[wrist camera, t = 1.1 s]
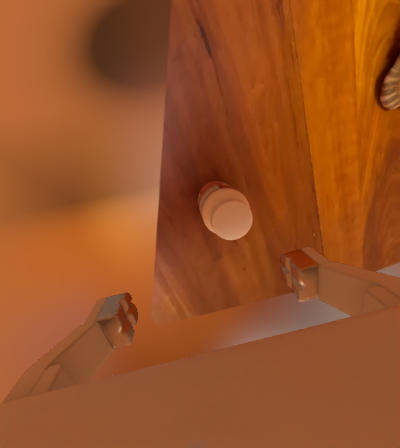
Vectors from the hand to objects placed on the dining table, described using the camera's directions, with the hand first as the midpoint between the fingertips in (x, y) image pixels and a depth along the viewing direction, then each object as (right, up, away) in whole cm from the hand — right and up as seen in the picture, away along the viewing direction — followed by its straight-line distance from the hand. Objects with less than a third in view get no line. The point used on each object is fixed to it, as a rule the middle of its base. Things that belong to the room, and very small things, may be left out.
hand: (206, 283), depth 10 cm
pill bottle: (+2, +7, +21) cm, 23 cm away
